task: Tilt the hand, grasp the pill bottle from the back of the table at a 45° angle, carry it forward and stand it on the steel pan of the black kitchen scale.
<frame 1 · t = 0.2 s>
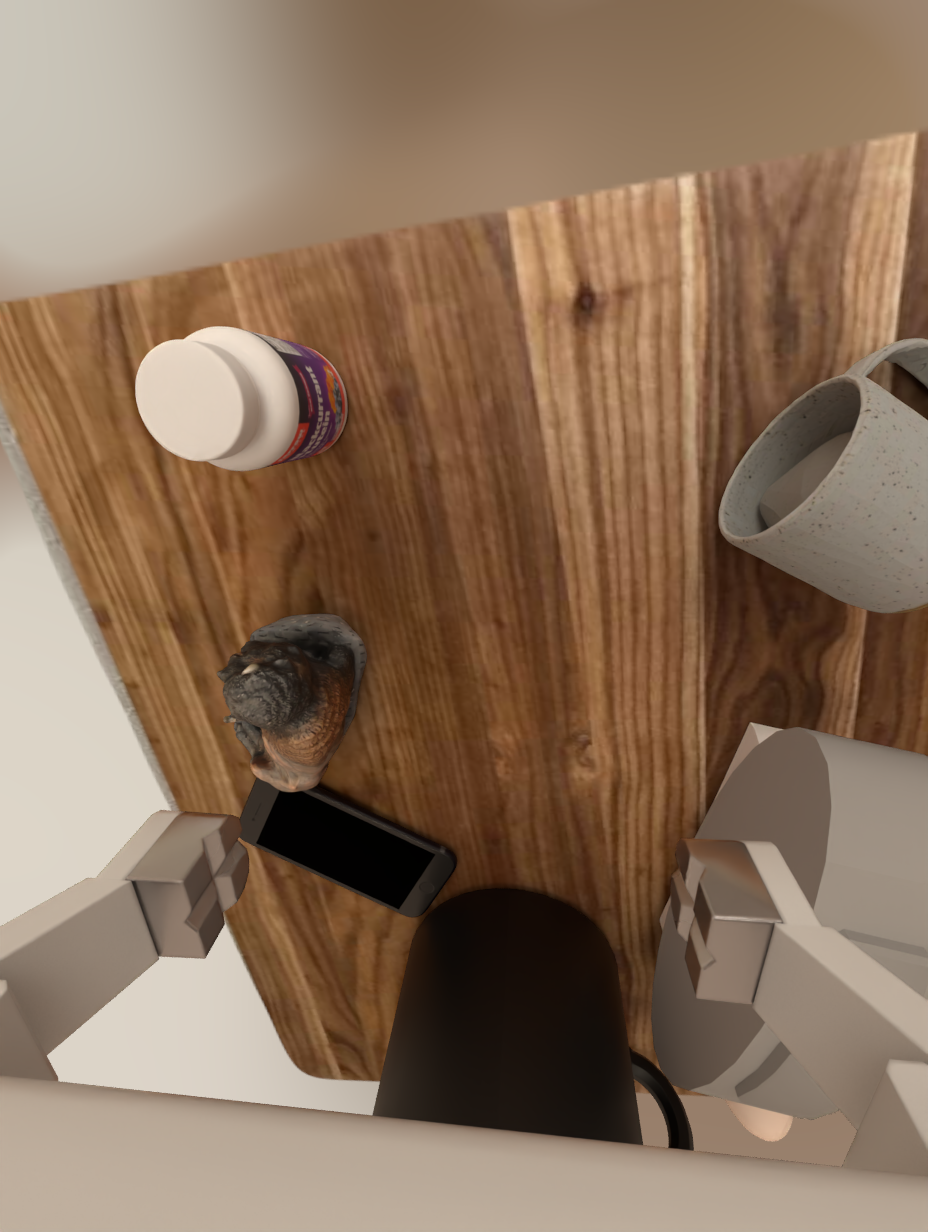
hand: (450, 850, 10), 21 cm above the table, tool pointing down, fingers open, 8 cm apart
bison figurine: (316, 675, 34), on the table
alarm clock: (737, 836, 35), on the table
egg: (735, 1024, 41), on the table
pill bottle: (301, 402, 28), on the table
mug: (538, 965, 41), on the table
smartphone: (348, 838, 38), on the table
ceramic mug: (826, 462, 26), on the table
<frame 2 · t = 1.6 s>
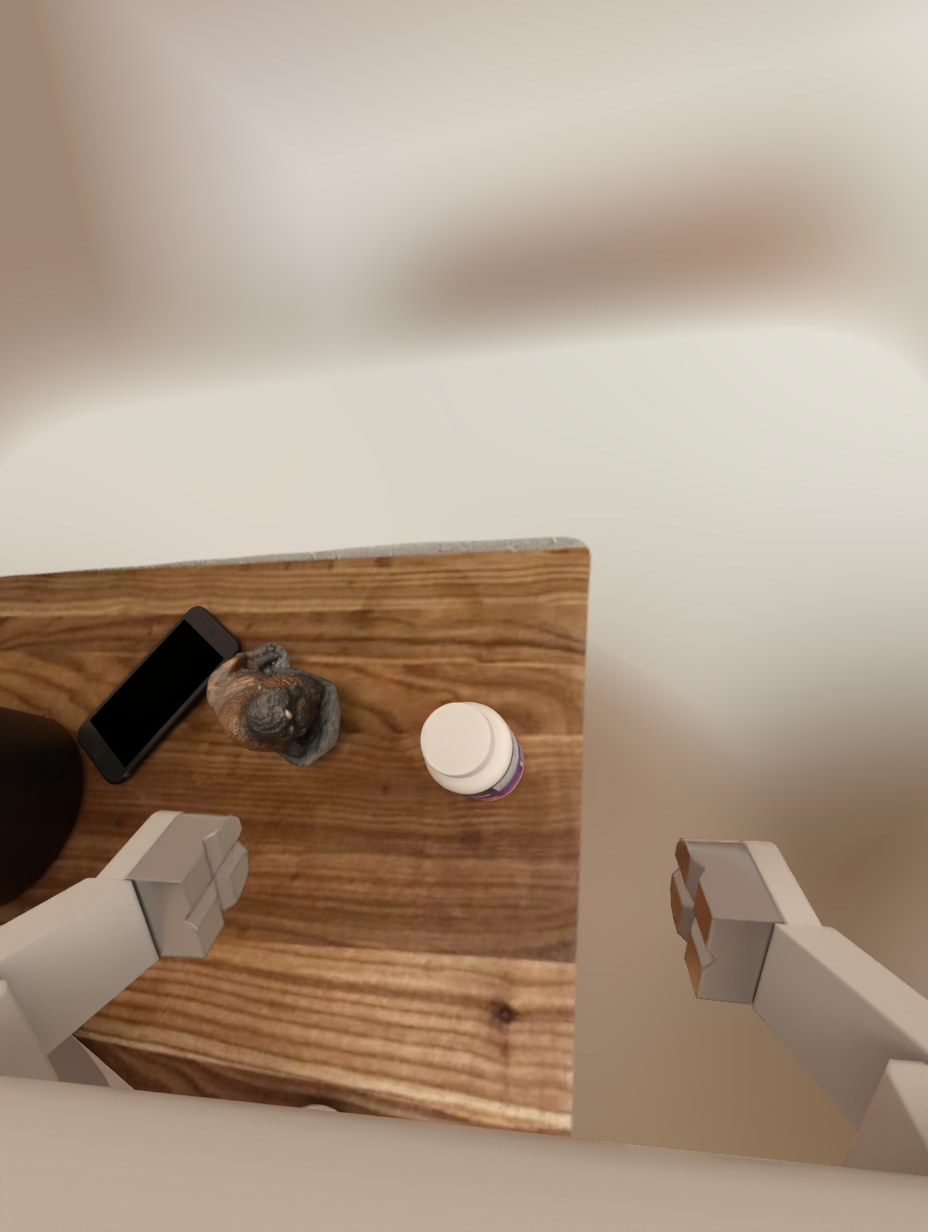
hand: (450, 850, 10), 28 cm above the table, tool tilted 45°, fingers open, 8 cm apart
bison figurine: (298, 708, 43), on the table
alarm clock: (44, 1064, 37), on the table
pill bottle: (487, 762, 38), on the table
smartphone: (164, 692, 46), on the table
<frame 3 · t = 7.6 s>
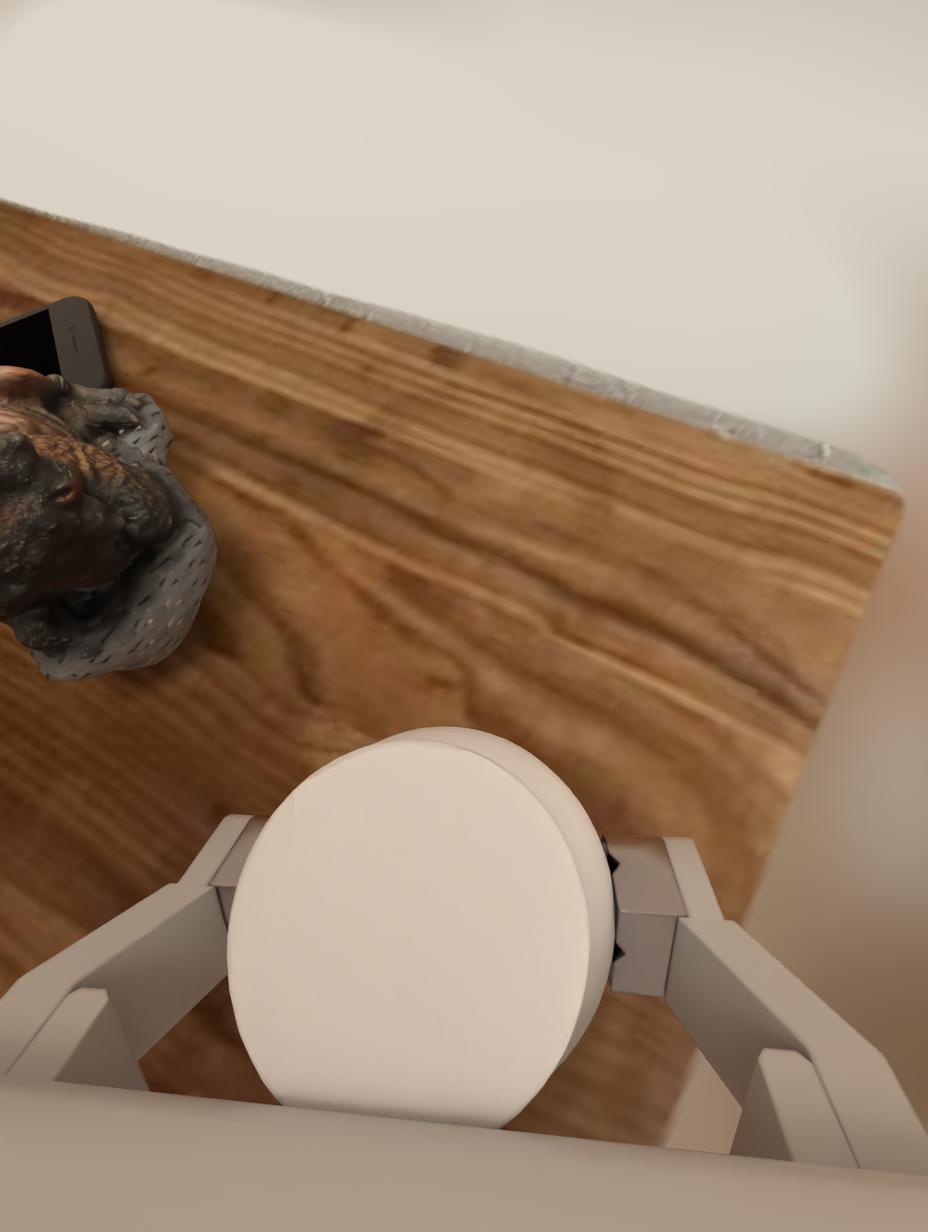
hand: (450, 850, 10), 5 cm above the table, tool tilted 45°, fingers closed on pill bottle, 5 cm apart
bison figurine: (148, 555, 20), on the table
pill bottle: (473, 872, 15), on the table, touching gripper
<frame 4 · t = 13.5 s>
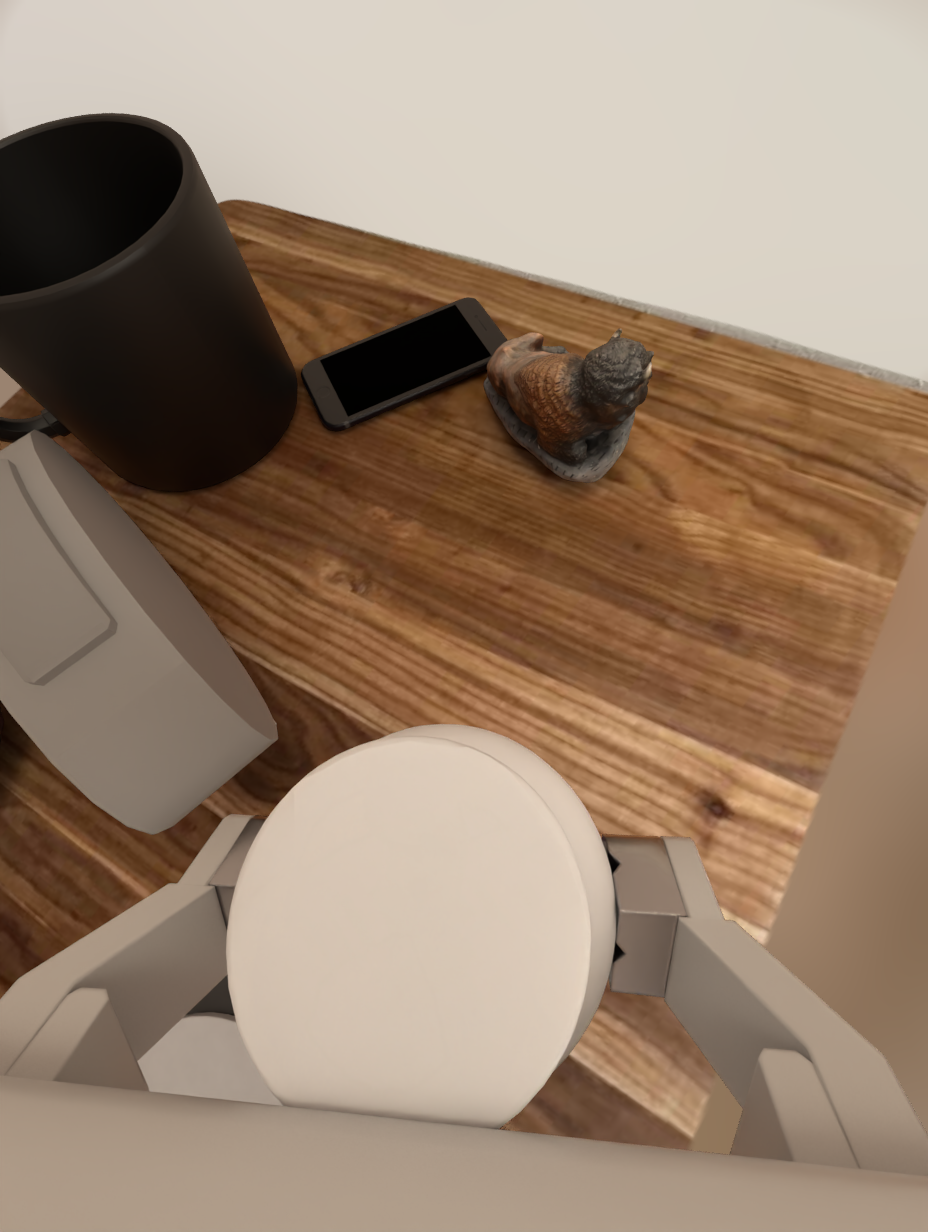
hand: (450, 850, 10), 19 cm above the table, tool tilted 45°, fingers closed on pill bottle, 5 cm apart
kitchen scale: (215, 1146, 24), on the table
bison figurine: (556, 437, 37), on the table
alarm clock: (174, 652, 34), on the table
pill bottle: (473, 871, 15), point 14 cm above the table, touching gripper
mug: (178, 427, 41), on the table
smartphone: (406, 368, 41), on the table
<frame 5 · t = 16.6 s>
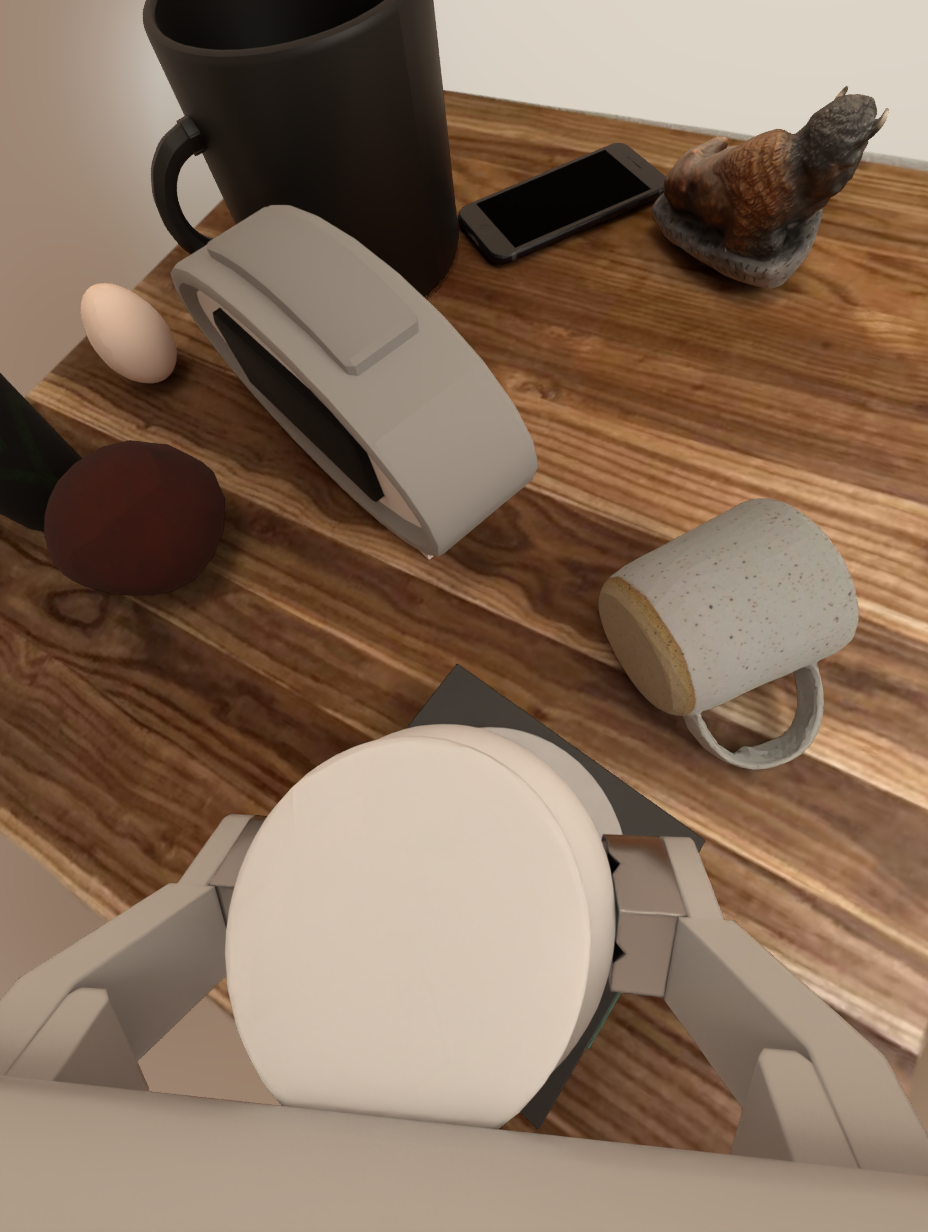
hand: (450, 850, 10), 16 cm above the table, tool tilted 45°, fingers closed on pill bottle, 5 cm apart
kitchen scale: (494, 859, 25), on the table
bison figurine: (724, 259, 38), on the table
alarm clock: (371, 458, 34), on the table
egg: (163, 377, 39), on the table
dark reddish-brown round ball: (184, 556, 33), on the table
pill bottle: (472, 871, 15), point 11 cm above the table, touching gripper
mug: (339, 272, 42), on the table
smartphone: (561, 210, 42), on the table
ceramic mug: (707, 662, 27), on the table
cup: (58, 496, 36), on the table
when the fingers open (8 cm above the table, at t = 19.3 s): pill bottle stays where it is, resting on kitchen scale.
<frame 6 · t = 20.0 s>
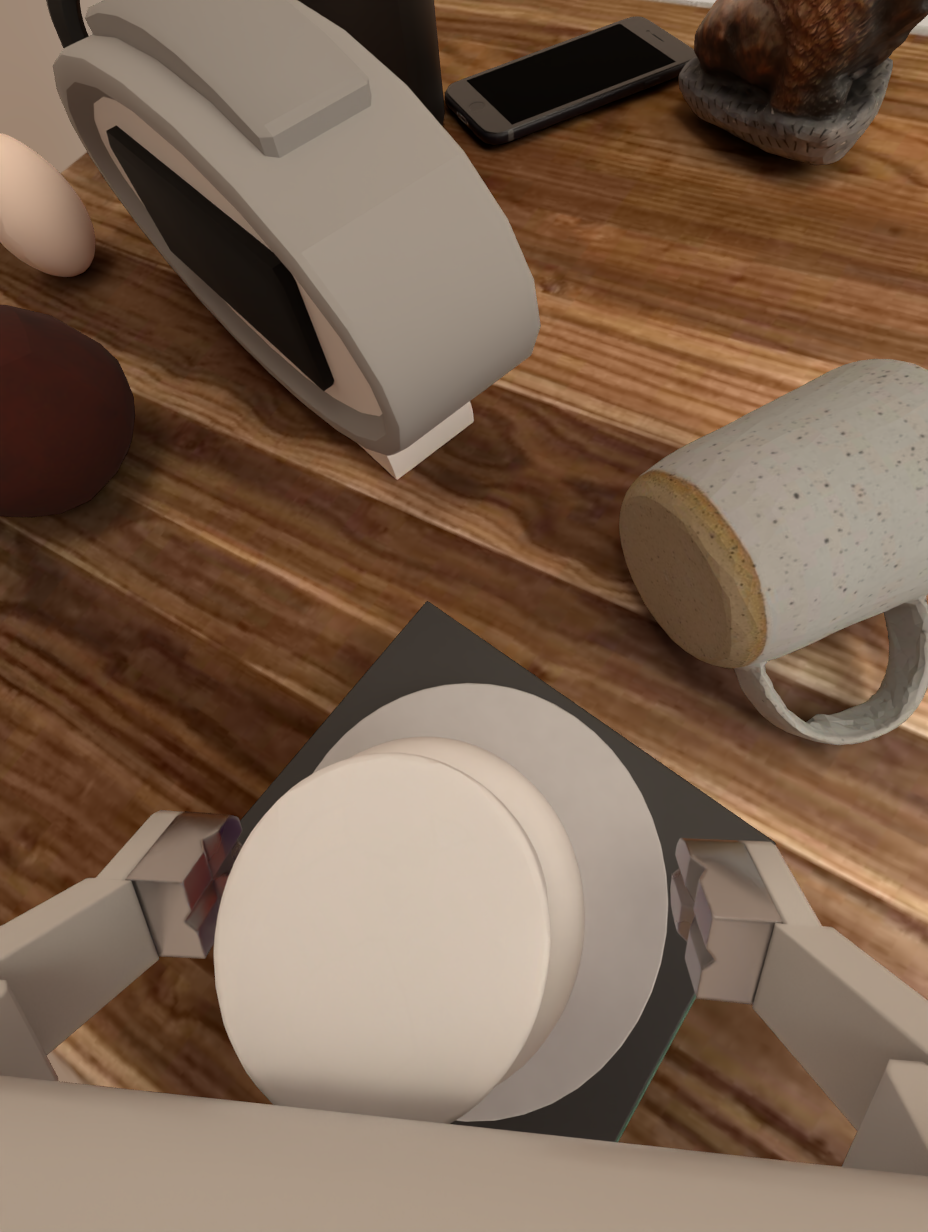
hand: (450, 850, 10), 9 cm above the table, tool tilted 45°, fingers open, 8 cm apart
kitchen scale: (473, 867, 18), on the table
bison figurine: (764, 140, 31), on the table
alarm clock: (330, 362, 27), on the table
egg: (81, 273, 32), on the table
dark reddish-brown round ball: (87, 477, 26), on the table
pill bottle: (458, 874, 15), point 3 cm above the table, touching kitchen scale
mug: (301, 158, 35), on the table
smartphone: (567, 90, 35), on the table
ceramic mug: (761, 606, 21), on the table
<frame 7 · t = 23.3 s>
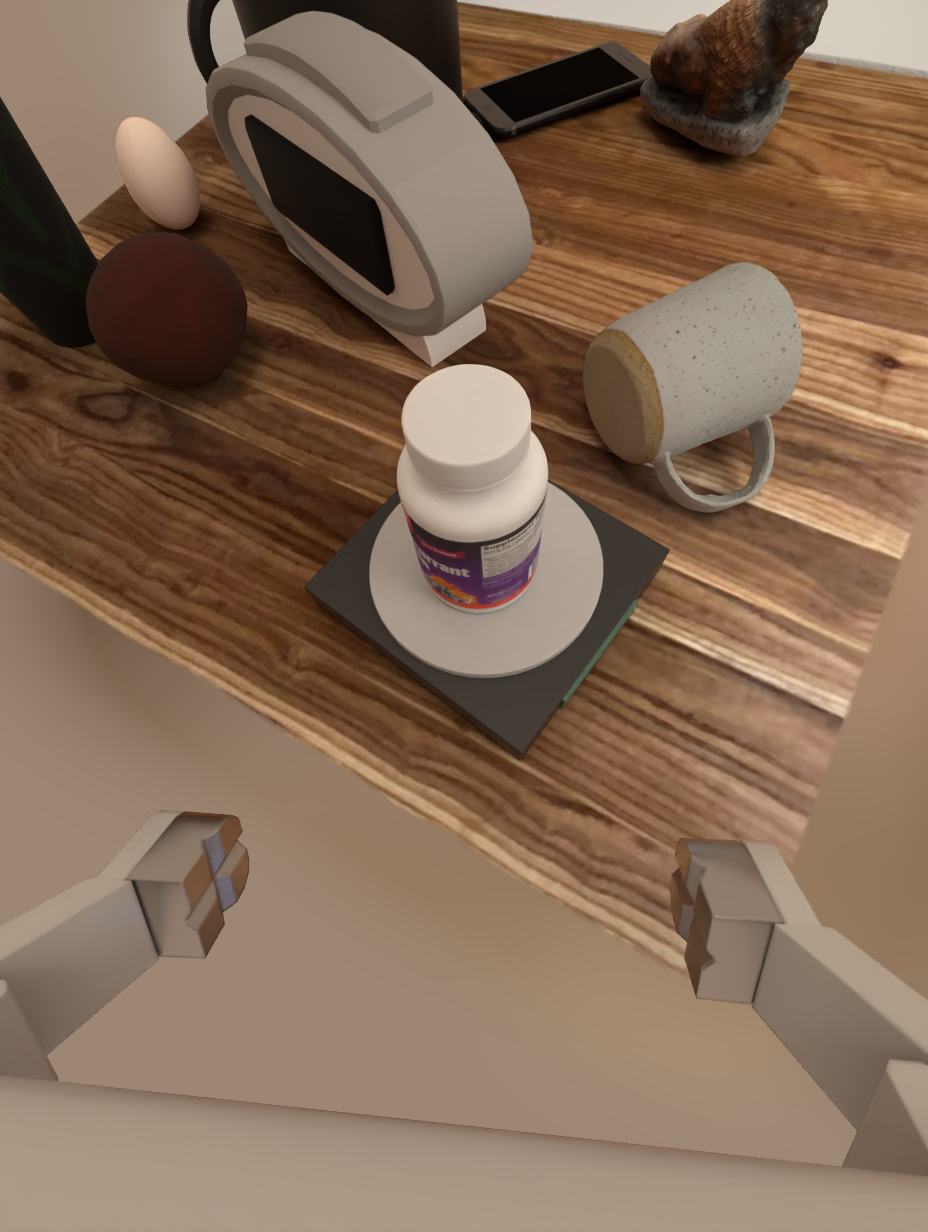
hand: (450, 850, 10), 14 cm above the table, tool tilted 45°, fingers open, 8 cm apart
kitchen scale: (486, 588, 28), on the table
bison figurine: (704, 138, 42), on the table
alarm clock: (380, 291, 38), on the table
egg: (185, 228, 42), on the table
dark reddish-brown round ball: (206, 367, 36), on the table
pill bottle: (479, 566, 25), point 3 cm above the table, touching kitchen scale
mug: (351, 145, 45), on the table
smartphone: (557, 97, 45), on the table
ceramic mug: (678, 442, 31), on the table
cup: (87, 321, 39), on the table
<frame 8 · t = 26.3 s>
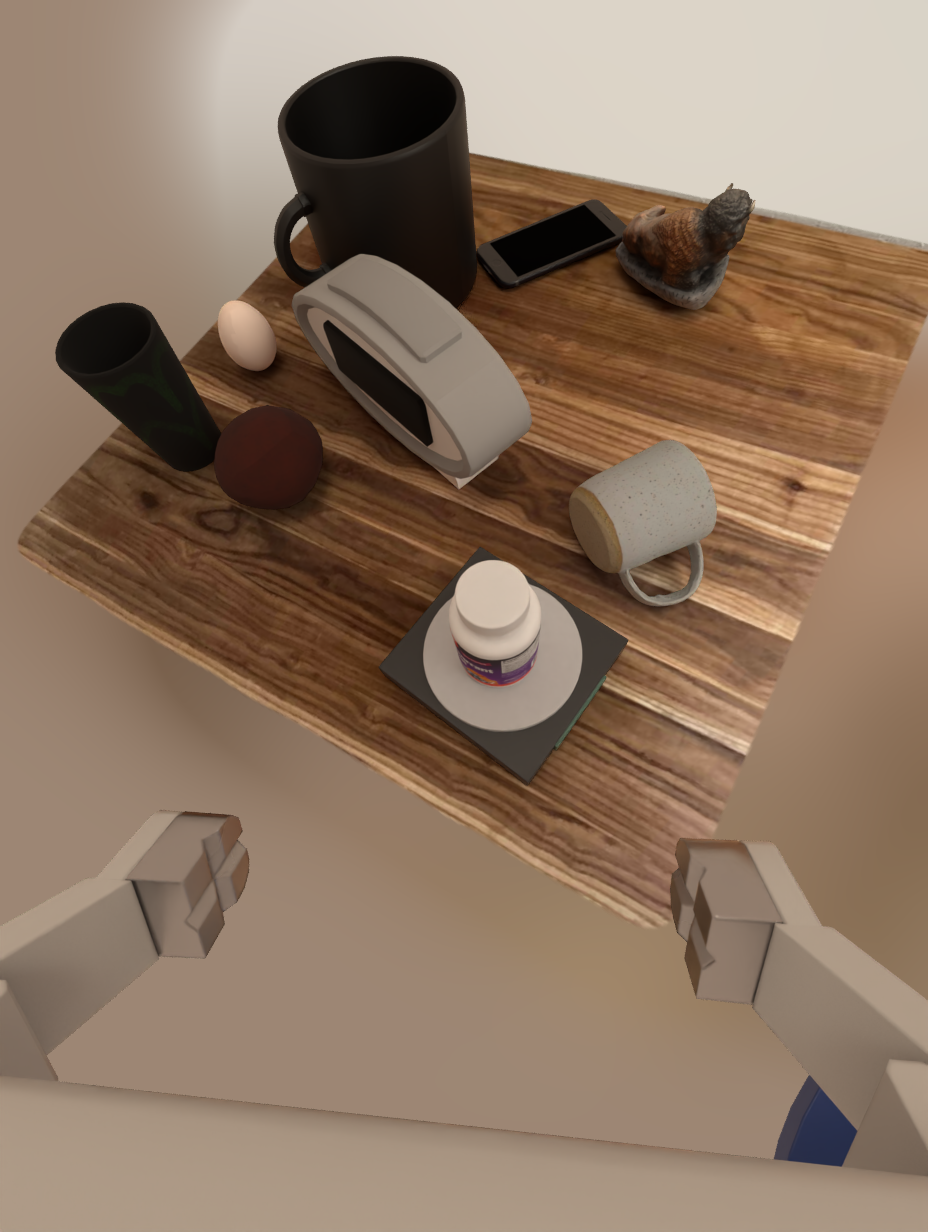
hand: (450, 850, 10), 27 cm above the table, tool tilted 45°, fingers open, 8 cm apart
kitchen scale: (502, 663, 40), on the table
bison figurine: (666, 287, 53), on the table
alarm clock: (417, 423, 50), on the table
egg: (263, 366, 54), on the table
dark reddish-brown round ball: (290, 488, 48), on the table
pill bottle: (498, 653, 37), point 3 cm above the table, touching kitchen scale
mug: (389, 292, 57), on the table
smartphone: (551, 248, 57), on the table
ceramic mug: (639, 550, 43), on the table
cup: (195, 448, 51), on the table
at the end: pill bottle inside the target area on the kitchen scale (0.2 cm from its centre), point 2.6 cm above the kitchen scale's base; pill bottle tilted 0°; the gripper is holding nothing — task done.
